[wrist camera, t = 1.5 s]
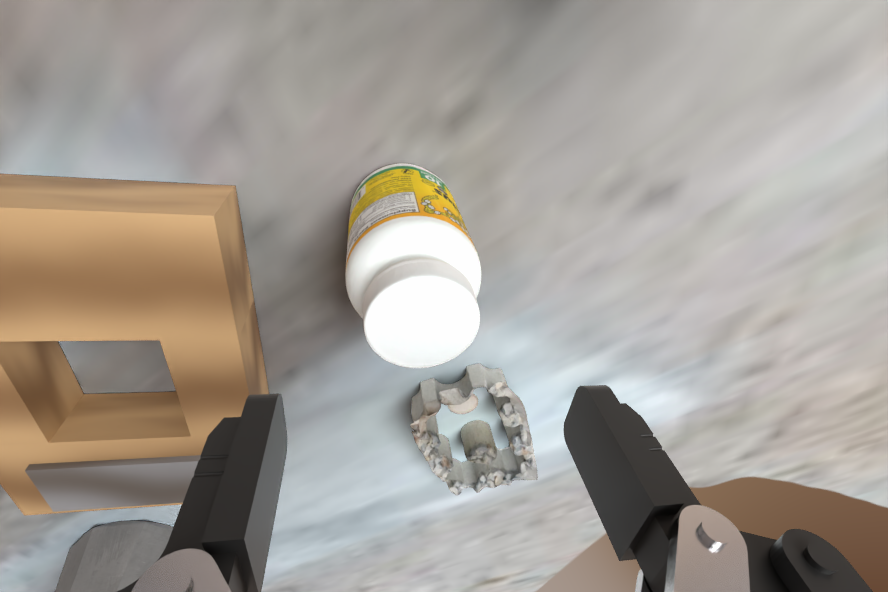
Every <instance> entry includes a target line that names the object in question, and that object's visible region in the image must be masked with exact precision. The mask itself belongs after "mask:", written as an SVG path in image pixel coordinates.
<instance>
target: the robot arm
mask: <svg viewBox="0 0 888 592" xmlns="http://www.w3.org/2000/svg"><path fill="white" fill-rule="evenodd" d="M564 437H565V441H566V444H567V447H568V449H569V451H570V453H571V455H572V458H573V460H574V462H575V464H576V466H577V468H578V471H579V473H580V475H581V477H582V479H583V482H584V484H585V486H586V488H587V490H588V493H589V495H590V497H591V499H592V501H593V504H594V506H595V508H596V510H597V512H598V515H599V517H600V519H601V521H602V523H603V526H604V528H605V530H606V532H607V534H608V536H609V539H610V541H611V543H612V545H613V548H614V550H615V552H616V554H617V556H618V559H619V561H623V560H633V559H637V561H638V564H639V566H640V568H641V570H640V571H639V573H638V577H637V584H636V590H635V592H873V591H872V590H871V589H870V588H869V586H868V585H867V584H866V583H865V581H864V580H863V579H862V578H861V577H860V575H859V574H858V573H857V572H856V571H855V569H854V568H853V567H852V565H851V564H850V563H849V562H848V561H847V559H846V558H845V557H844V556H843V555H842V554H841V553H840V552H839V551H838V550H837V549H836V548H835V547H833V546H832V545H831V544H830V543H828V542H827V541H825V540H824V539H822V538H820V537H819V536H817V535H815V534H813V533H811V532H808V531H805V530H800V529H791V530H788V531H786V532H785V533H784V534H783V535H782V536H781V537H780V538H779V539H778V540H774V539H770V538H766V537H762V536H758V535H754V534H750V533H746V532H742V531H739V530H738V529H737V528H736V527H735V526H734V525H733V524H732V523H731V522H730V521H729V520H728V519H727V518H726V517H725V516H723V515H722V514H720V513H719V512H717V511H715V510H713V509H711V508H708V507H705V506H702V505H701V504H700V503H699V501H698V500H697V499H696V497H695V496H694V494H693V493H692V491H691V490H690V488H689V487H688V485H687V484H686V482H685V481H684V479H683V478H682V476H681V475H680V473H679V472H678V470H677V469H676V467H675V466H674V464H673V463H672V461H671V460H670V458H669V457H668V455H667V454H666V452H665V451H663V450H662V446H661V445H660V443H659V442H658V440H657V439H656V437H653V433H652V431H651V430H650V428H649V427H648V426H647V424H646V423H645V421H644V420H643V418H642V417H641V416H640V415H639V414H638V413H636V412H635V411H634V410H633V409H632V408H631V407H629V406H628V405H627V404H626V403H625V404H620V402H619V401H618V399H617V398H616V396H615V395H614V393H613V391H612V390H611V389H610V388H609V387H608V386H606V385H599V386H580V387H578V389H577V390H576V393H575V395H574V398H573V401H572V403H571V406H570V409H569V411H568V414H567V417H566V419H565V422H564ZM286 452H287V431H286V423H285V416H284V408H283V401H282V396H281V394H256V395H249V396H248V397H247V399H246V402H245V405H244V408H243V411H242V415H241V417H224V418H223V419H222V420H221V422H220V423H219V424H218V425H217V426H216V427H215V428H214V429H213V431H212V432H211V433H210V434H209V435H208V437H207V440H206V442H205V445H204V448H203V450H202V453H201V456H200V457H201V458H200V460H199V461H198V464H197V466H196V469H195V472H194V477H192V480H191V482H190V485H189V488H188V490H187V493H186V496H185V498H184V501H183V503H182V506H181V509H180V511H179V514H178V517H177V519H176V522H175V525H174V527H173V530H172V533H171V535H170V538H169V541H168V543H167V545H166V547H165V550H164V551H163V553H162V554H161V556H160V557H159V559H158V560H157V561H156V562H155V563H154V564H153V565H151V566H150V567H149V568H148V569H147V570H146V571H145V572H144V573H143V575H142V576H141V577H140V578H139V579H137V580H136V581H135V582H133V583H132V584H130V585H128V586H127V587H125V588H123V589H121V590H119V591H117V592H261V589H262V584H263V579H264V573H265V568H266V562H267V557H268V552H269V546H270V541H271V535H272V530H273V524H274V519H275V514H276V508H277V503H278V497H279V492H280V487H281V481H282V476H283V470H284V465H285V459H286Z"/></svg>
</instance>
